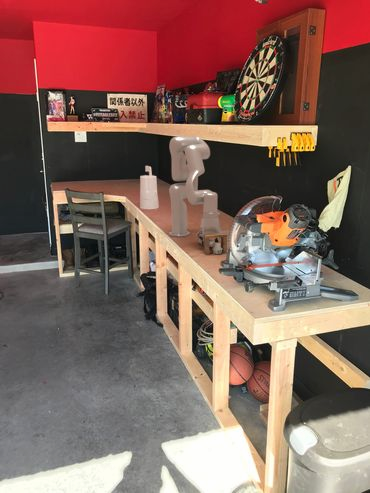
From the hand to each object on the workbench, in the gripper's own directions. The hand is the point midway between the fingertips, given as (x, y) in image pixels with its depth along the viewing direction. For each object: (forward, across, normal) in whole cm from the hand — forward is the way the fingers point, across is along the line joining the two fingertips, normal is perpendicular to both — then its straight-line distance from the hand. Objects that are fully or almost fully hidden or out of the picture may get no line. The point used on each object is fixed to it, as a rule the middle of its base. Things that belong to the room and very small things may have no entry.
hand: (210, 246), depth 235 cm
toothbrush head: (+2, 0, 0) cm, 2 cm away
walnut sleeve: (+1, 0, +8) cm, 8 cm away
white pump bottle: (+1, +9, -125) cm, 125 cm away
